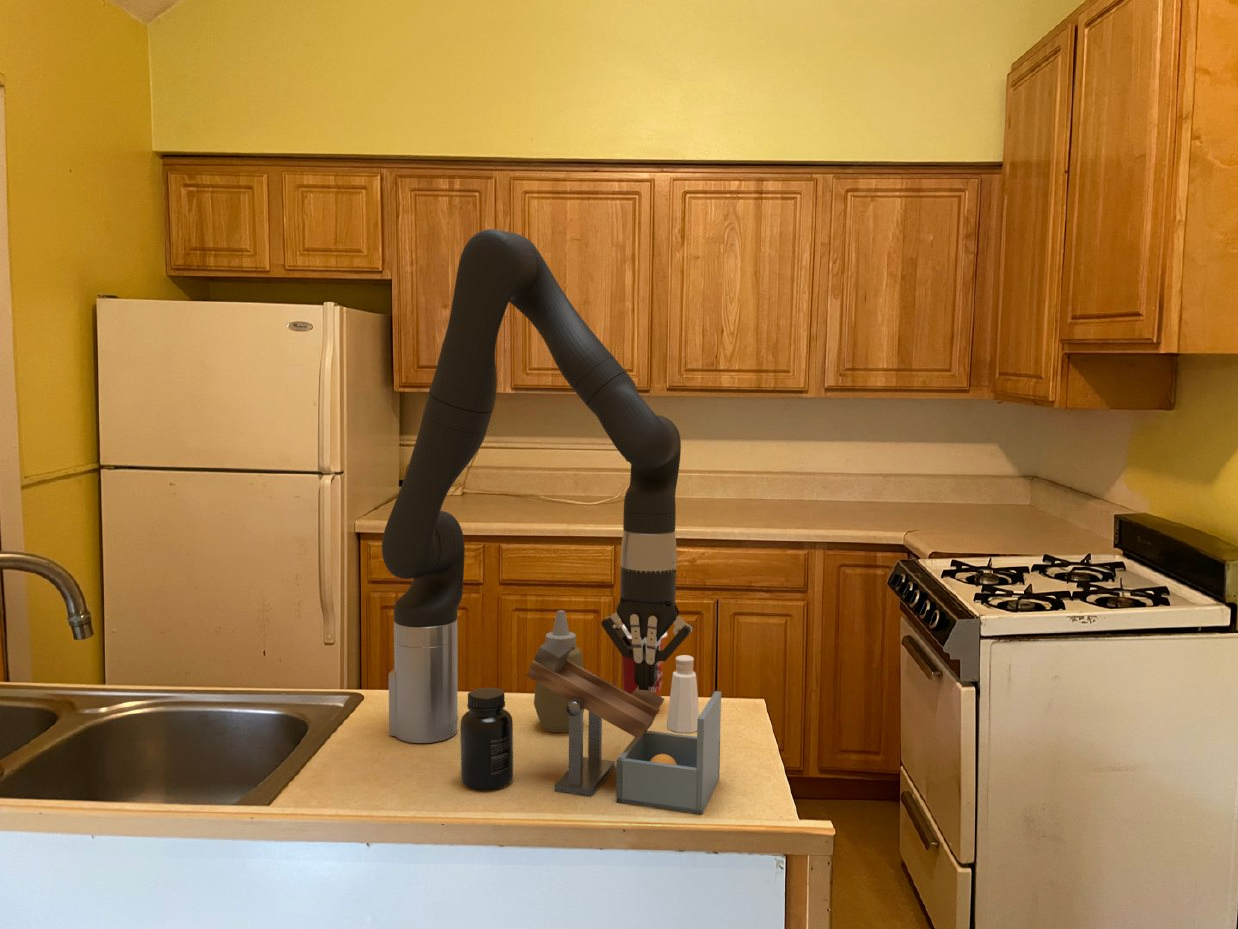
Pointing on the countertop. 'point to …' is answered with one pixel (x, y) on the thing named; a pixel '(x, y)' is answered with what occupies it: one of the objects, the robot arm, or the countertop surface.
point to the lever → (594, 690)
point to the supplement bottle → (486, 741)
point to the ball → (663, 759)
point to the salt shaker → (683, 697)
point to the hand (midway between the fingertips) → (645, 688)
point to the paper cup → (630, 670)
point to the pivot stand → (582, 770)
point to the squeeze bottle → (548, 701)
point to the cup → (673, 766)
